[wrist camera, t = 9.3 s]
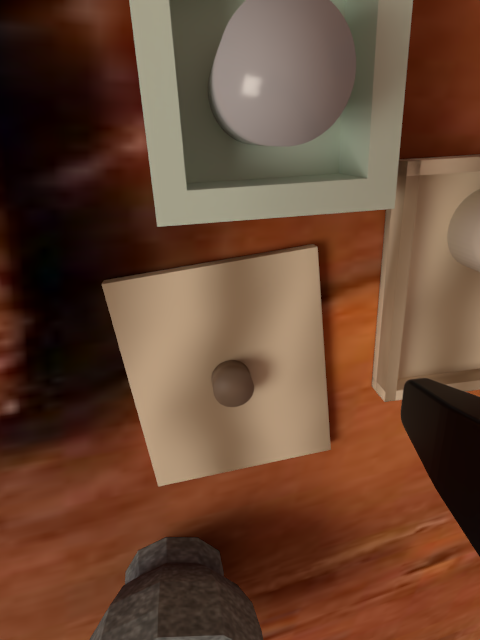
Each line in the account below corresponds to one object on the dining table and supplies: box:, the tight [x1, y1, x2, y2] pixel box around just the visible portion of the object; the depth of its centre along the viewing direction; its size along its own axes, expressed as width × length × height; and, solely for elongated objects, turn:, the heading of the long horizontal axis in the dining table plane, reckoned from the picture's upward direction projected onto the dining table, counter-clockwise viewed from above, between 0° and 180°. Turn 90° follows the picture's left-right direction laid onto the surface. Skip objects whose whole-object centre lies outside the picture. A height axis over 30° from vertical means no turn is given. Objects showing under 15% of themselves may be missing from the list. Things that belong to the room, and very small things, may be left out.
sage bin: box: [129, 0, 413, 227], centre depth 16 cm, size 9×9×4 cm
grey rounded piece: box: [208, 0, 356, 147], centre depth 15 cm, size 4×4×6 cm
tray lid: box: [102, 244, 331, 486], centre depth 22 cm, size 10×12×2 cm
